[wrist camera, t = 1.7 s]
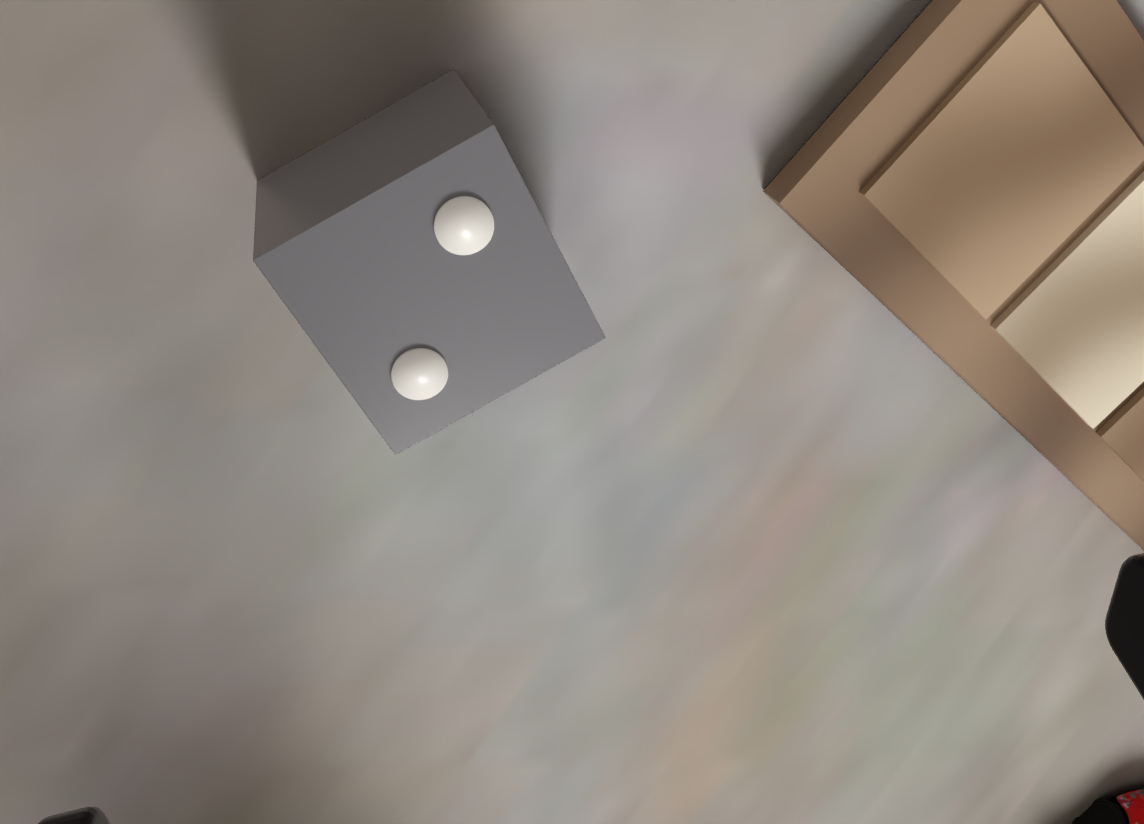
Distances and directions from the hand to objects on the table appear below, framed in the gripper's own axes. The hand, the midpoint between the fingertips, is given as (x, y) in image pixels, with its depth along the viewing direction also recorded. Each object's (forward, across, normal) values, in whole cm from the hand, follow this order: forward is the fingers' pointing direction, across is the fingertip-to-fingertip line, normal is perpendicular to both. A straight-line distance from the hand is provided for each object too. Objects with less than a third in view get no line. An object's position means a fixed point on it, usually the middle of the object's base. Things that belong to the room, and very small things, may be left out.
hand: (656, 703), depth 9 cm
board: (+12, -16, +6) cm, 22 cm away
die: (+13, +1, 0) cm, 13 cm away
